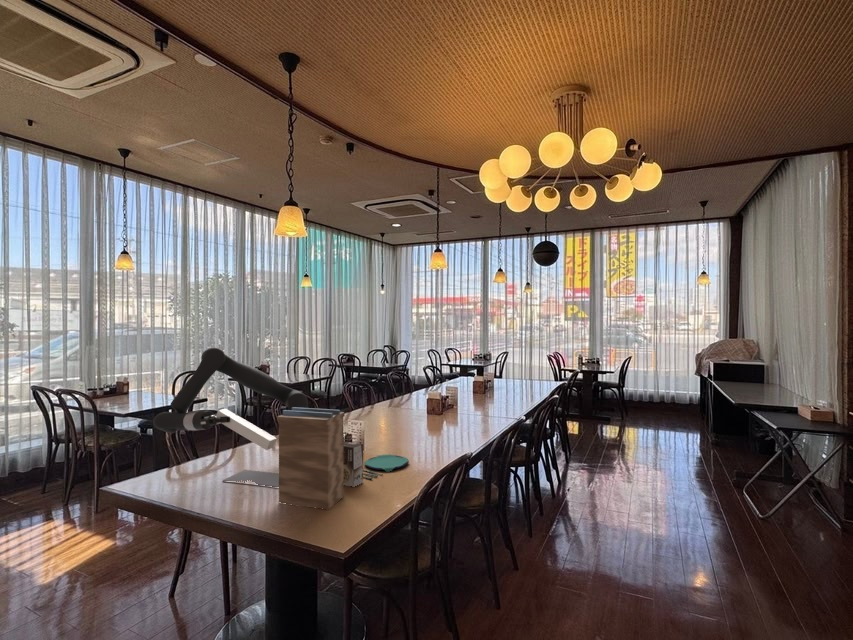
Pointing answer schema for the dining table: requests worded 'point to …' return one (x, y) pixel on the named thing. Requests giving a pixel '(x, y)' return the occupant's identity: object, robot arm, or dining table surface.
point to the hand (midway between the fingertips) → (233, 418)
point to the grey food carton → (352, 464)
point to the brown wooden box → (311, 457)
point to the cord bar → (248, 430)
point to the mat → (256, 477)
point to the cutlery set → (384, 463)
